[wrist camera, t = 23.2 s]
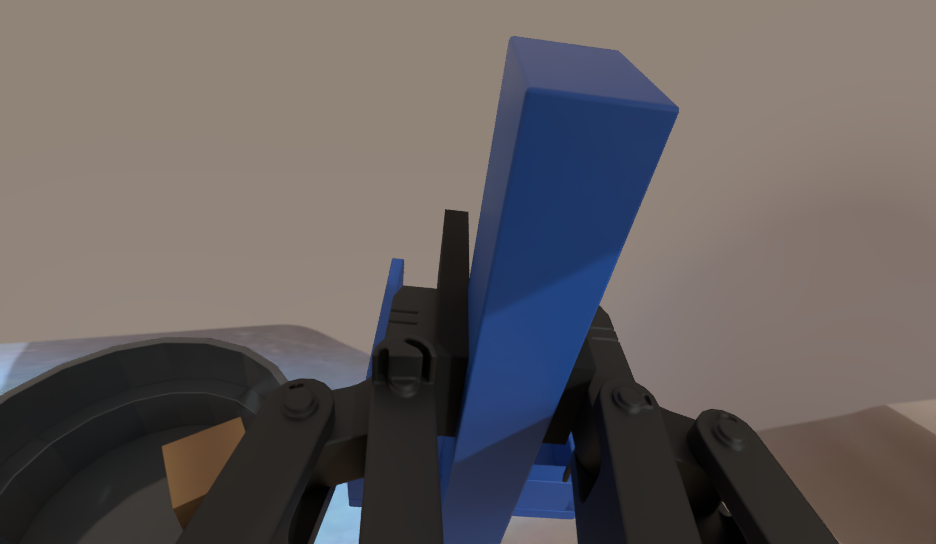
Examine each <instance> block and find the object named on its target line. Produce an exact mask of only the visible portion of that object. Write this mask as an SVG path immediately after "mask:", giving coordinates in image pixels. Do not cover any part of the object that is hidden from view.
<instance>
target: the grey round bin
mask: <svg viewBox="0 0 936 544" xmlns="http://www.w3.org/2000/svg"><path fill="white" fill-rule="evenodd" d="M286 382H288V380H287V379H286V377H285V376H284V375H283V373H282V372H281V370H280V369H279V368H278V366H276V365H275V364H274V363H272V362H270V361H269V360H267V359H265V358H264V357H262V356H261V355H259V354H257V353H256V352H254V351H252V350H251V349H249V348H247V347H244V346H240V345H236V344H232V343H228V342H224V341H220V340H216V339H212V338H174V337H166V338H159V339H153V340H147V341H141V342H135V343H129V344H124V345H118V346H113V347H110V348H107V349H105V350H102V351H99V352H96V353H93V354H90V355H87V356H84V357H81V358H78V359H75V360H72V361H69V362H66V363H63V364H61V365H58V366H56V367H55V368H53V369H51V370H49V371H47V372H45V373H43V374H41V375H39V376H37V377H35V378H33V379H31V380H29V381H27V382H25V383H24V384H22V385H20V386H18V387H16V388H14V389H12V390H10V391H8V392H6V393H4V395H1V396H0V544H175V543H176V541H177V540H178V538H179V537H180V535H181V534H182V532H183V530H182V528H181V526H180V523H179V521H178V519H177V517H176V515H175V513H174V511H173V508H172V503H171V497H170V491H169V486H168V480H167V474H166V469H165V463H164V458H163V452H162V446H164V445H166V444H169V443H172V442H174V441H177V440H180V439H182V438H185V437H188V436H190V435H193V434H196V433H198V432H201V431H204V430H206V429H209V428H211V427H214V426H217V425H219V424H222V423H225V422H227V421H230V420H233V419H235V418H238V417H241V419H242V422H243V425H244V428H245V431H247V429H248V428H249V426H250V424H251V423H252V421H253V420H254V418H255V416H256V415H257V413H258V412H259V410H260V409H261V407H262V405H263V404H264V402H265V401H266V399H267V397H268V396H269V395H270V394H271V393H272V392H273V391H274V390H275V389H276V388H277V387H279V386H281V385H283V384H284V383H286Z"/></svg>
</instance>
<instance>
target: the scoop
mask: <svg viewBox="0 0 936 544" xmlns="http://www.w3.org/2000/svg"><path fill="white" fill-rule="evenodd" d="M678 113H679V107H678V106H676V105H675V104H674V103H673V102H672V101H671V100H670V99H669V98H668V97H667V96H666V95H665V94H664V93H663V92H661V90H659V89H658V88H657V87H656V86H655V85H654V84H653V83H652V82H651V81H650V80H649V79H648V78H647V77H646V76H645V75H644V74H643V73H642V72H640V71H639V70H638V69H637V68H636V67H635V66H634V65H633V64H632V63H631V62H630V61H629V60H628V59H627V58H626V57H625V56H624V55H623V54H621V53H620V52H619V51H616V50H610V49H602V48H595V47H587V46H580V45H574V44H567V43H560V42H553V41H545V40H538V39H531V38H524V37H517V36H513V37H511V38H510V39H509V43H508V49H507V55H506V61H505V68H504V74H503V79H502V85H501V91H500V97H499V104H498V110H497V116H496V122H495V128H494V134H493V140H492V146H491V152H490V158H489V164H488V170H487V176H486V183H485V189H484V195H483V200H482V206H481V212H480V219H479V224H478V231H477V237H476V243H475V249H474V255H473V261H472V267H471V273H470V279H469V285H468V326H469V360H468V365H467V371H466V377H465V382H464V388H463V393H462V399H461V405H460V410H459V416H458V422H457V427H456V433H455V437H447V436H437V439H438V455H439V472H440V489H441V506H442V523H443V539H444V544H500V543H501V540H502V538H503V536H504V533H505V531H506V528H507V526H508V523H509V521H510V519H511V516H523V517H540V518H557V519H574V517H575V509H574V499H573V489H572V479H571V474H570V476H569V479H568V481H567V483H565V482H562V479H563V473H564V471H565V468H566V466H567V464H568V461H569V459H570V457H571V455H572V452H573V450H574V448H575V445H574V441H573V436H572V432H571V433H570V435H569V437H568V440H567V442H566V445H560V444H546V443H542V441H543V439H544V437H545V434H546V432H547V429H548V427H549V424H550V422H551V420H552V417H553V415H554V412H555V410H556V408H557V405H558V403H559V400H560V398H561V396H562V393H563V391H564V388H565V386H566V383H567V381H568V379H569V376H570V374H571V371H572V369H573V367H574V364H575V362H576V359H577V357H578V354H579V352H580V350H581V347H582V345H583V342H584V340H585V338H586V335H587V333H588V330H589V328H590V326H591V323H592V321H593V318H594V316H595V313H596V311H597V309H598V306H599V304H600V301H601V299H602V297H603V294H604V291H605V289H606V287H607V284H608V282H609V280H610V277H611V275H612V272H613V270H614V268H615V265H616V263H617V260H618V258H619V256H620V253H621V251H622V248H623V246H624V243H625V241H626V238H627V236H628V234H629V231H630V229H631V226H632V224H633V222H634V219H635V217H636V214H637V212H638V210H639V207H640V205H641V202H642V200H643V198H644V195H645V193H646V190H647V188H648V185H649V183H650V181H651V178H652V176H653V173H654V171H655V169H656V166H657V164H658V161H659V159H660V157H661V154H662V152H663V149H664V147H665V144H666V142H667V140H668V137H669V134H670V132H671V130H672V128H673V125H674V123H675V120H676V118H677V115H678ZM403 273H404V260H403V259H395V258H393V259H392V262H391V267H390V271H389V276H388V281H387V285H386V290H385V294H384V299H383V303H382V308H381V313H380V317H379V322H378V326H377V331H376V335H375V340H374V344H373V349H372V353H371V358H370V363H369V367H368V372H367V376H366V380H367V379H368V378H369V377H370V376H372V355H373V352H374V349H375V347H376V346H377V345H378V344H379V343H380V342H381V341H382V340H383V339H385V334H386V329H387V324H388V319H389V315H390V310H391V305H392V300H393V296H394V295H395V294H396V293H397V292H398V291H399V290H400V288H401V287H402V286H403ZM347 484H348V497H349V506H352V507H362V498H363V486H364V478H361V479H357V480H354V481H350V482H347Z"/></svg>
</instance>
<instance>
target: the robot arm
mask: <svg viewBox="0 0 936 544" xmlns="http://www.w3.org/2000/svg"><path fill="white" fill-rule="evenodd" d="M468 285H469V224H468V212H464V211H455V210H446V209H445V217H444V226H443V236H442V245H441V254H440V264H439V272H438V283H437V289H434V288H423V287H413V286H402V287H401V288H400V290H399V291H398V292H397V293H396V294H395V295H394V296H393V300H392V305H391V310H390V315H389V319H388V324H387V329H386V334H385V339H383V340H382V341H381V342H380V343H379V344H378V345H377V346H376V347H375V349H374V352H373V355H372V376H370V377H369V378H368V379H367V380H365V381H363V382H361V383H359V384H357V385H354V386H350V387H346V388H341V389H336V390H331V389H330V388H329V387H328V386H327V385H326V384H325V383H323V382H320V381H317V380H315V379H297V380H293V381H289V382H286V383H284V384H283V385H281V386H279V387H277V388H276V389H275V390H274V391H273V392H272V393H271V394H270V395H269V396H268V397H267V399H266V401H265V402H264V404H263V405H262V407H261V409H260V410H259V412H258V413H257V415H256V416H255V418H254V420H253V421H252V423H251V424H250V426H249V428H248V429H247V431H246V432H245V434H244V435H243V437H242V439H241V440H240V442H239V443H238V445H237V446H236V448H235V450H234V451H233V453H232V454H231V456H230V458H229V459H228V461H227V462H226V464H225V465H224V467H223V469H222V470H221V472H220V473H219V475H218V477H217V478H216V480H215V481H214V483H213V484H212V486H211V488H210V489H209V491H208V492H207V494H206V496H205V497H204V499H203V500H202V502H201V503H200V505H199V507H198V508H197V510H196V511H195V513H194V515H193V516H192V518H191V519H190V521H189V522H188V524H187V526H186V527H185V529H184V530H183V532H182V534H181V535H180V537H179V538H178V540H177V541H176V543H175V544H314V542H315V539H316V536H317V534H318V531H319V529H320V526H321V524H322V521H323V519H324V516H325V513H326V511H327V508H328V506H329V503H330V501H331V498H332V496H333V493H334V491H335V488H336V485H338V484H342V483H346V482H350V481H354V480H357V479H361V478H364V486H363V498H362V510H361V522H360V534H359V544H444V539H443V523H442V506H441V489H440V472H439V455H438V439H437V436H447V437H455V433H456V427H457V422H458V416H459V410H460V405H461V399H462V393H463V388H464V382H465V377H466V371H467V365H468V360H469V326H468ZM571 432H572V436H573V441H574V445H575V448H574V450H573V452H572V455H571V457H570V459H569V461H568V464H567V466H566V468H565V471H564V473H563V479H562V482H565V483H567V481H568V479H569V476H570V474H571V479H572V489H573V499H574V509H575V519H576V529H577V539H578V544H839V543H838V541H837V540H836V539H835V537H834V536H833V535H832V533H831V532H830V531H829V529H828V528H827V527H826V525H825V524H824V523H823V521H822V520H821V519H820V517H819V516H818V515H817V513H816V512H815V511H814V509H813V508H812V507H811V505H810V504H809V503H808V501H807V500H806V499H805V497H804V496H803V495H802V494H801V492H800V491H799V490H798V488H797V487H796V486H795V484H794V483H793V482H792V480H791V479H790V478H789V476H788V475H787V474H786V472H785V471H784V470H783V468H782V467H781V466H780V464H779V463H778V462H777V460H776V459H775V458H774V456H773V455H772V454H771V452H770V451H769V450H768V448H767V447H766V446H765V444H764V443H763V442H762V440H761V439H760V438H759V436H758V435H757V434H756V433H755V431H754V430H752V428H751V427H749V425H748V424H747V423H746V422H744V421H742V420H741V419H740V418H738V417H737V416H735V415H733V414H730V413H728V412H725V411H723V410H716V409H709V410H706V411H703V412H702V413H701V414H700V415H699V416H698V418H697V419H696V420H695V419H692V418H689V417H686V416H683V415H680V414H677V413H674V412H671V411H669V410H666V409H664V408H662V407H660V406H659V405H658V403H657V401H656V400H655V398H654V396H653V395H652V394H651V393H650V392H649V391H648V390H647V389H646V388H645V387H643V386H641V385H640V384H638V383H636V382H635V380H634V378H633V375H632V373H631V370H630V368H629V365H628V363H627V360H626V358H625V355H624V353H623V350H622V347H621V345H620V343H619V342H618V337H617V335H616V332H615V331H614V327H613V325H612V322H611V320H610V318H609V315H608V314H607V313H606V312H605V311H604V310H603V309H602V308H601V307H600V306H598V309H597V311H596V313H595V316H594V318H593V321H592V323H591V326H590V328H589V330H588V333H587V335H586V338H585V340H584V342H583V345H582V347H581V350H580V352H579V354H578V357H577V359H576V362H575V364H574V367H573V369H572V371H571V374H570V376H569V379H568V381H567V383H566V386H565V388H564V391H563V393H562V396H561V398H560V400H559V403H558V405H557V408H556V410H555V412H554V415H553V417H552V420H551V422H550V424H549V427H548V429H547V432H546V434H545V437H544V439H543V441H542V443H546V444H560V445H566V442H567V440H568V437H569V435H570V433H571ZM722 502H724V504H725V505H726V507H727V509H728V510H729V512H728V510H727V509H726V508H725V506H724V505H723V503H722Z"/></svg>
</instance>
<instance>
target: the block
mask: <svg viewBox="0 0 936 544" xmlns="http://www.w3.org/2000/svg"><path fill="white" fill-rule="evenodd" d="M245 432H246V431H245V428H244V425H243V422H242V419H241V417H238V418H235V419H233V420H230V421H227V422H225V423H222V424H219V425H217V426H214V427H211V428H209V429H206V430H204V431H201V432H198V433H196V434H193V435H190V436H188V437H185V438H182V439H180V440H177V441H174V442H172V443H169V444H166V445H164V446H162V452H163V458H164V463H165V469H166V474H167V480H168V486H169V491H170V497H171V503H172V508H173V511H174V513H175V515H176V517H177V519H178V521H179V523H180V526H181V528H182V530H184V529H185V527H186V526H187V524H188V522H189V521H190V519H191V518H192V516H193V515H194V513H195V511H196V510H197V508H198V507H199V505H200V503H201V502H202V500H203V499H204V497H205V496H206V494H207V492H208V491H209V489H210V488H211V486H212V484H213V483H214V481H215V480H216V478H217V477H218V475H219V473H220V472H221V470H222V469H223V467H224V465H225V464H226V462H227V461H228V459H229V458H230V456H231V454H232V453H233V451H234V450H235V448H236V446H237V445H238V443H239V442H240V440H241V439H242V437H243V435H244V434H245Z"/></svg>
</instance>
